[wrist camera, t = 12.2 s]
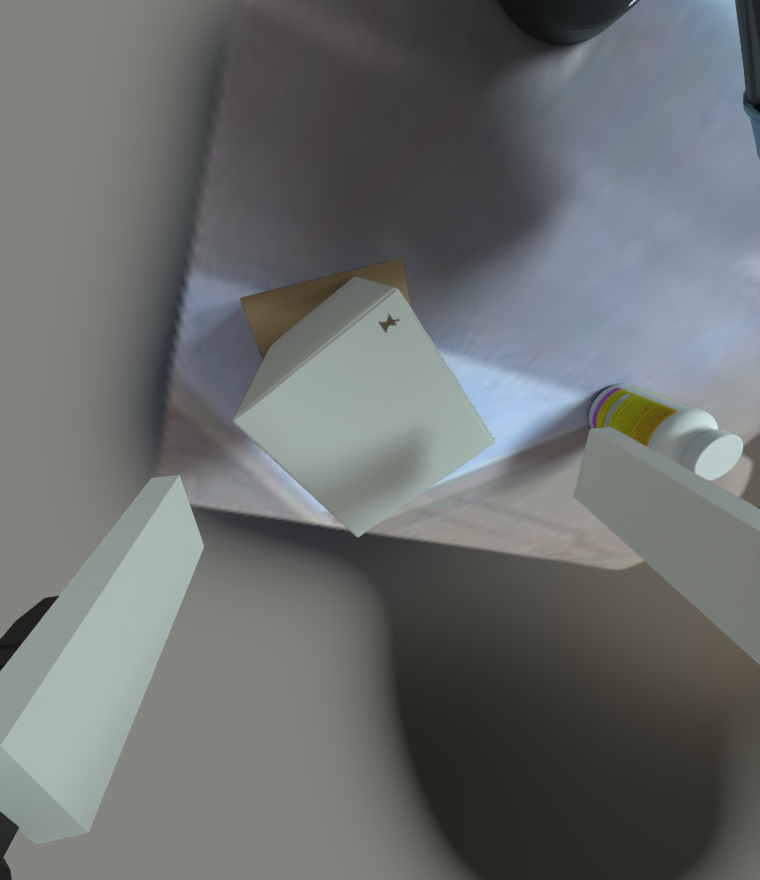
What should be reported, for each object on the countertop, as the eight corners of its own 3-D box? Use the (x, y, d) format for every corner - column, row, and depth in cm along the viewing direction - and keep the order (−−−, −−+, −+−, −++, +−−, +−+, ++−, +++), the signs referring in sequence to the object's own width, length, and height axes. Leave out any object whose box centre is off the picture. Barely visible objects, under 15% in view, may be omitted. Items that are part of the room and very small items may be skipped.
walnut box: (252, 293, 31) (240, 298, 26) (387, 259, 32) (402, 257, 27) (297, 418, 37) (294, 444, 32) (411, 388, 38) (427, 407, 32)
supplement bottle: (580, 436, 44) (673, 494, 33) (592, 384, 41) (699, 428, 30) (628, 430, 45) (735, 485, 34) (643, 379, 42) (766, 420, 31)
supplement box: (264, 347, 28) (220, 419, 14) (355, 273, 27) (398, 276, 13) (337, 429, 32) (355, 544, 18) (419, 367, 31) (502, 443, 17)
